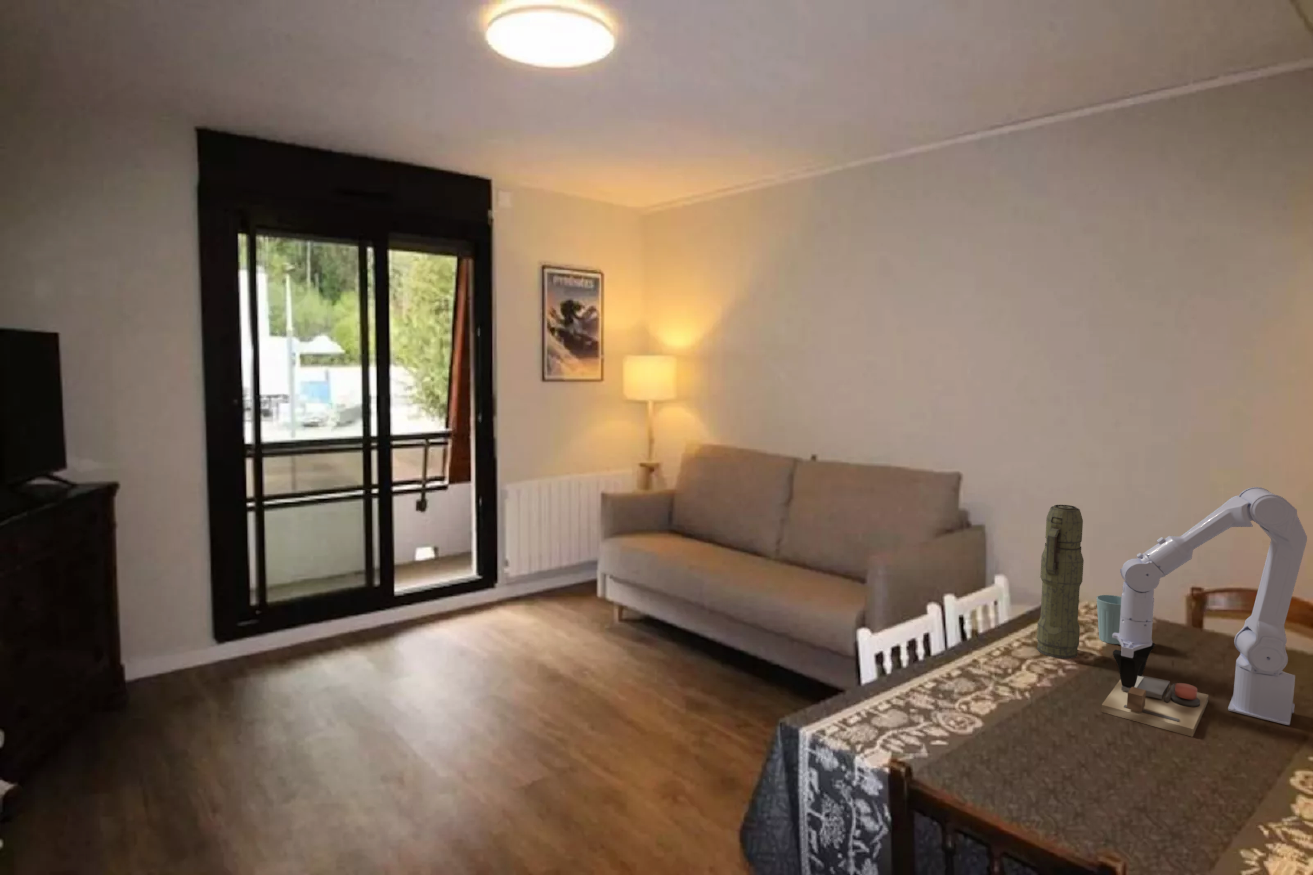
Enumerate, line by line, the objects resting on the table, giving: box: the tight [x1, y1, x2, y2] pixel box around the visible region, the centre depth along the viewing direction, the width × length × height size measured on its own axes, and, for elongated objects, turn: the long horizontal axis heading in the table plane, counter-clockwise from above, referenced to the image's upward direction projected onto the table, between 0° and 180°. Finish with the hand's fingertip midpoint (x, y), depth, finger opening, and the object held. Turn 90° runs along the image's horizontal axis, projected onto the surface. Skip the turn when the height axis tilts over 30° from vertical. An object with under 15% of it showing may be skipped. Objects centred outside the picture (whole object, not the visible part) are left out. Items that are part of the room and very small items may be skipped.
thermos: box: [1036, 504, 1085, 660], centre depth 182 cm, size 9×12×35 cm
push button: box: [1174, 682, 1198, 700], centre depth 154 cm, size 4×4×2 cm
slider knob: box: [1127, 687, 1146, 712], centre depth 150 cm, size 2×4×3 cm, turn 138°
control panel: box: [1100, 679, 1209, 738], centre depth 155 cm, size 15×20×2 cm
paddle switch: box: [1121, 675, 1171, 699], centre depth 160 cm, size 7×9×1 cm
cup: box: [1096, 594, 1122, 645], centre depth 190 cm, size 8×8×10 cm
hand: (1132, 680), depth 161 cm, fingers open, 7 cm apart
